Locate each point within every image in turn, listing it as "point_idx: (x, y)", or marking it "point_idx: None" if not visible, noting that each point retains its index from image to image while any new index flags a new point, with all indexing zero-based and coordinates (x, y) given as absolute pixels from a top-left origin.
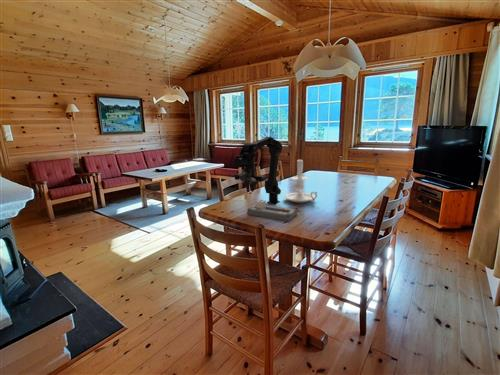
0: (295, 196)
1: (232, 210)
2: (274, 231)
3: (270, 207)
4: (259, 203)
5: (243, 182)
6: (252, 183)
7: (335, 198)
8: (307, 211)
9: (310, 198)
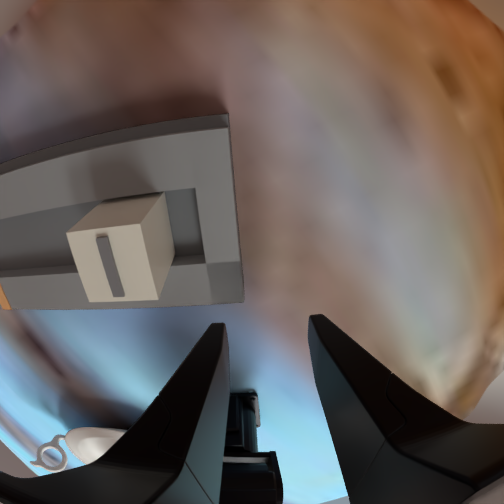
0: None
1: (407, 142)
2: None
3: (75, 272)
4: (105, 221)
5: (485, 424)
6: (124, 475)
7: None
8: (4, 350)
9: (77, 450)
